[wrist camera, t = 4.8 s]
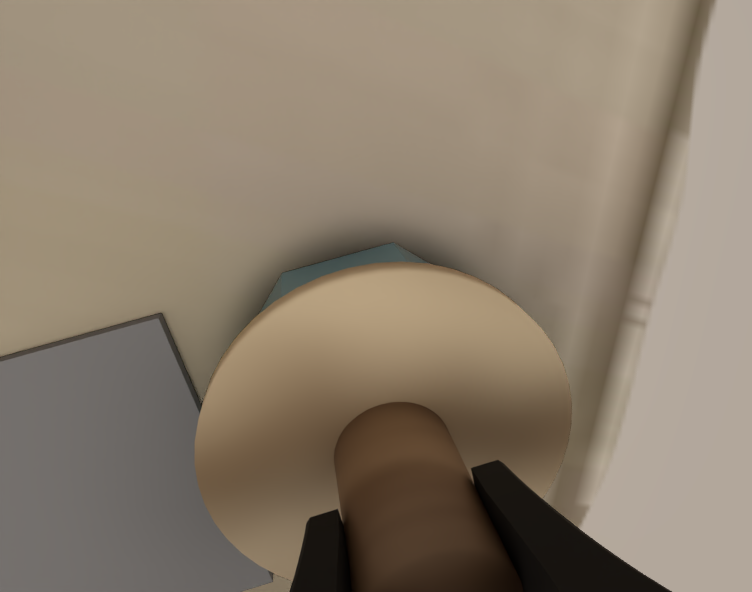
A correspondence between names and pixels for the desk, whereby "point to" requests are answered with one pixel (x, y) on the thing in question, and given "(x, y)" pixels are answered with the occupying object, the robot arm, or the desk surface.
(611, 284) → the desk surface
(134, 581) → the mat
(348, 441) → the lid
